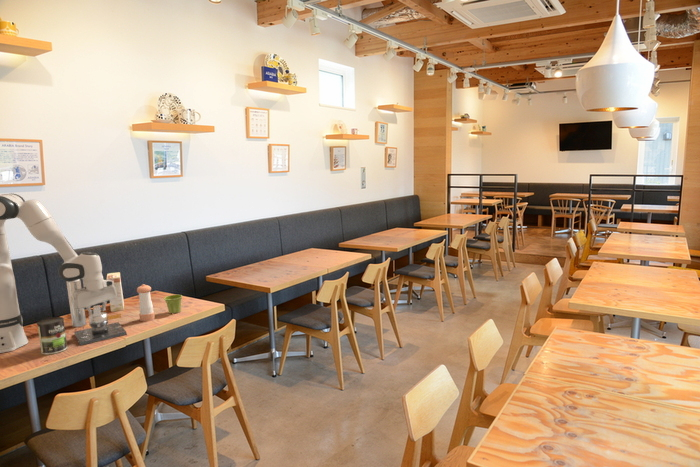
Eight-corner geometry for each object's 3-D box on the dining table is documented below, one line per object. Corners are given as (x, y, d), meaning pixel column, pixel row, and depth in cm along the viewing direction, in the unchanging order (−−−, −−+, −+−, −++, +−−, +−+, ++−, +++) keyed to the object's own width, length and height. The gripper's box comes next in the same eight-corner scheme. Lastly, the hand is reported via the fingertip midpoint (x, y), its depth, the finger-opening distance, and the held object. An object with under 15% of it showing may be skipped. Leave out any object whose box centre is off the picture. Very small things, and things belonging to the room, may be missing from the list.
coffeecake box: (111, 305, 284) (107, 273, 281) (124, 303, 287) (120, 271, 284) (110, 312, 270) (106, 278, 267) (124, 310, 273) (120, 276, 270)
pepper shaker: (154, 316, 259) (150, 281, 256) (154, 320, 253) (150, 284, 250) (140, 318, 257) (136, 283, 254) (139, 322, 250) (135, 286, 247)
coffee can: (72, 347, 218) (68, 318, 216) (49, 356, 209) (44, 325, 207) (59, 344, 223) (55, 315, 221) (36, 352, 214) (31, 322, 212)
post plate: (80, 345, 221) (78, 335, 220) (74, 334, 236) (73, 324, 235) (126, 334, 232) (125, 324, 231) (118, 324, 247) (117, 315, 247)
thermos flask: (82, 327, 247) (75, 280, 243) (69, 327, 247) (63, 280, 243) (89, 322, 253) (83, 276, 249) (77, 323, 253) (70, 277, 249)
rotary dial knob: (89, 328, 227) (87, 311, 226) (89, 322, 236) (87, 305, 235) (121, 323, 234) (119, 305, 232) (120, 317, 243) (118, 300, 241)
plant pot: (178, 314, 260) (176, 299, 258) (162, 314, 261) (160, 299, 260) (186, 309, 269) (185, 294, 267) (171, 309, 270) (170, 294, 269)
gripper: (76, 291, 220) (80, 319, 222) (116, 280, 238) (120, 307, 240) (68, 289, 223) (72, 318, 225) (108, 279, 241) (112, 305, 243)
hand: (97, 312), depth 233 cm, fingers closed on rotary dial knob, 5 cm apart
